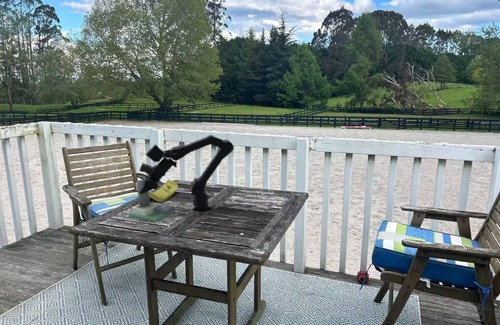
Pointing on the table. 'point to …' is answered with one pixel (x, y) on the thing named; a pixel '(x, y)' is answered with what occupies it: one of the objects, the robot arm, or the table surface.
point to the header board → (151, 212)
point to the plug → (142, 197)
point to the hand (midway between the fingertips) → (140, 192)
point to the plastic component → (164, 191)
